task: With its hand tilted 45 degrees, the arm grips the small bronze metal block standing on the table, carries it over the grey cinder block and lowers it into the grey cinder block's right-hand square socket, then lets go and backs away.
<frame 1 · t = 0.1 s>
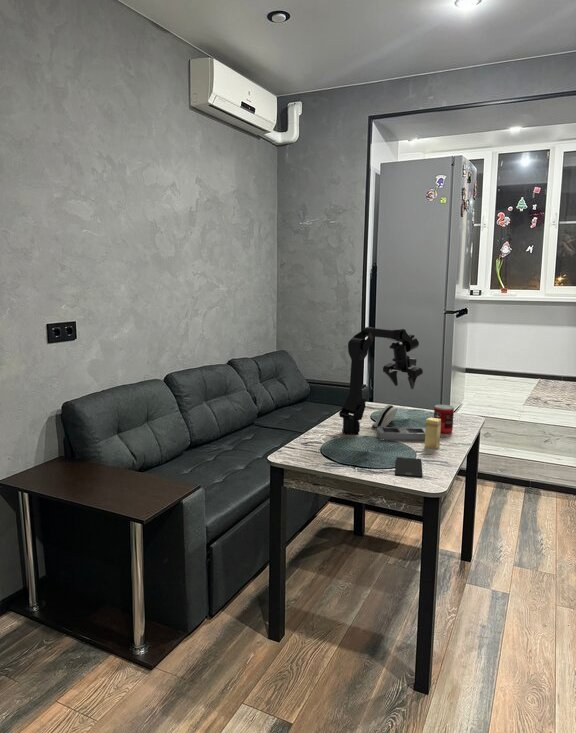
hand: (404, 387, 245), 15 cm above the table, tool pointing down, fingers open, 9 cm apart
cell phone: (408, 469, 185), on the table
canned food: (442, 431, 230), on the table
game console: (385, 425, 240), on the table
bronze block: (432, 446, 208), on the table
grey cinder block: (402, 437, 220), on the table
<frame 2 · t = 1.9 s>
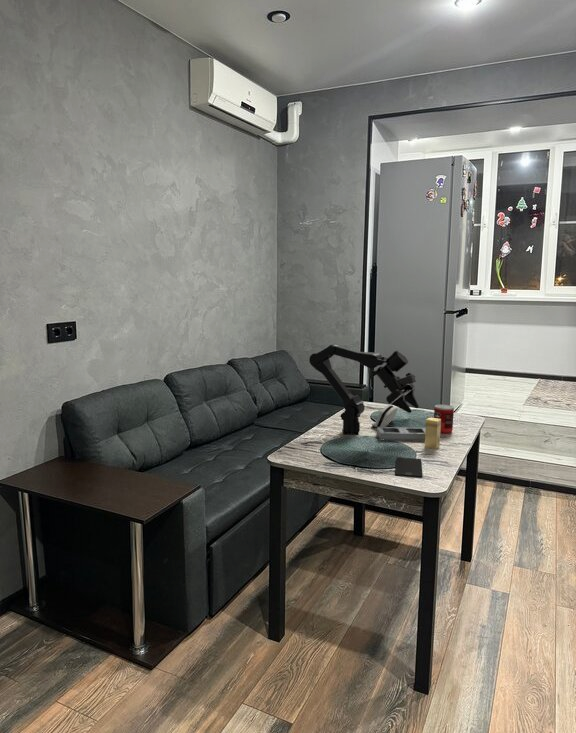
hand: (414, 409, 211), 13 cm above the table, tool tilted 45°, fingers open, 9 cm apart
nothing on the table moved.
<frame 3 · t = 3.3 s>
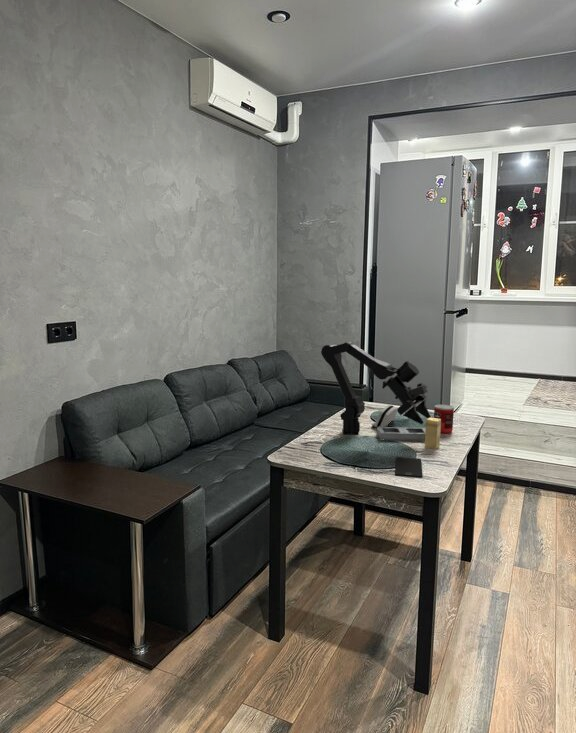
hand: (426, 420, 208), 10 cm above the table, tool tilted 45°, fingers open, 9 cm apart
nothing on the table moved.
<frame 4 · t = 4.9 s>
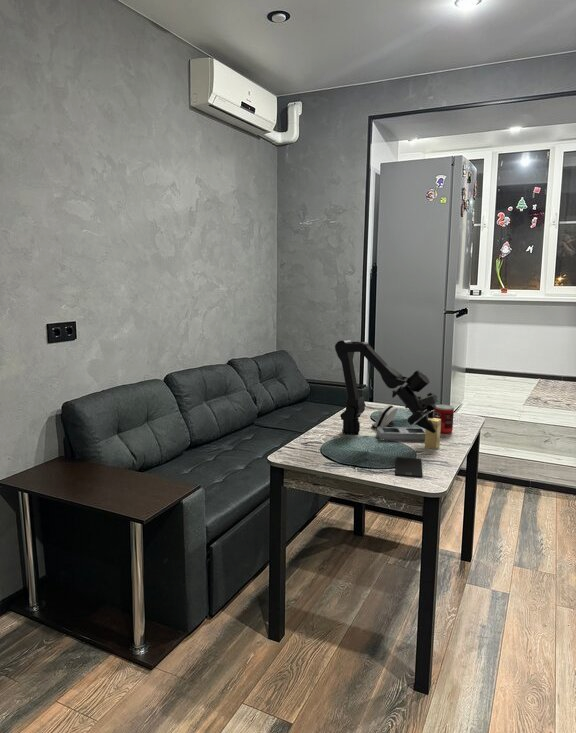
hand: (436, 430, 206), 7 cm above the table, tool tilted 45°, fingers closed on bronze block, 4 cm apart
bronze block: (432, 446, 208), on the table, touching gripper
everything else where it was.
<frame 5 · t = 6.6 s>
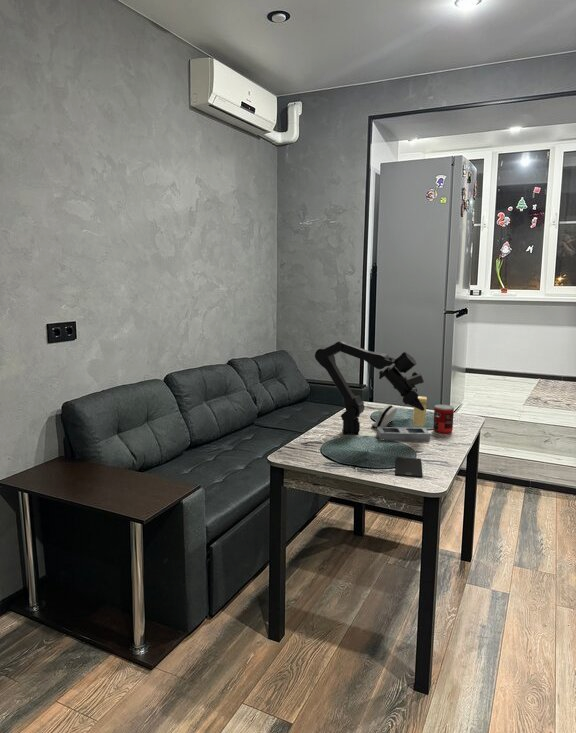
hand: (423, 408, 215), 13 cm above the table, tool tilted 45°, fingers closed on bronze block, 4 cm apart
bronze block: (418, 424, 216), point 7 cm above the table, touching gripper
everything else where it was.
when the fingers open (8 cm above the table, at t = 8.5 s): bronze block drops 1 cm, resting in grey cinder block.
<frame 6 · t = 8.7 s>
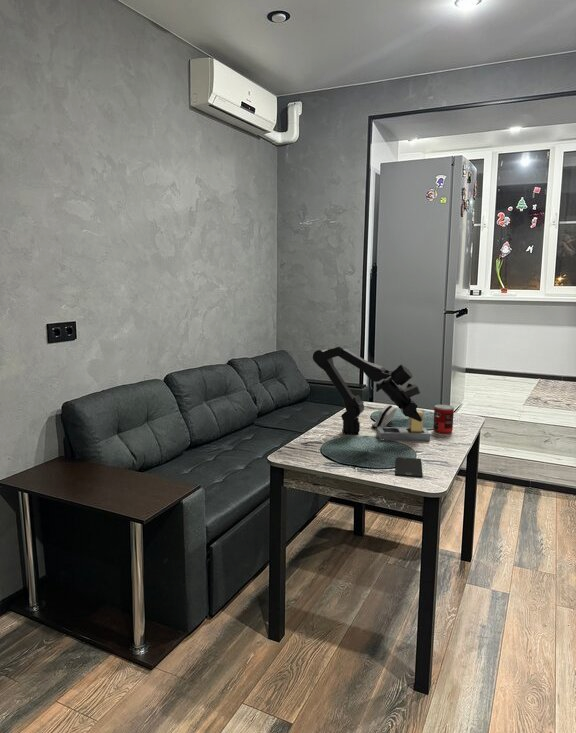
hand: (419, 418, 219), 8 cm above the table, tool tilted 45°, fingers open, 7 cm apart
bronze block: (415, 437, 220), resting in grey cinder block
everything else where it was.
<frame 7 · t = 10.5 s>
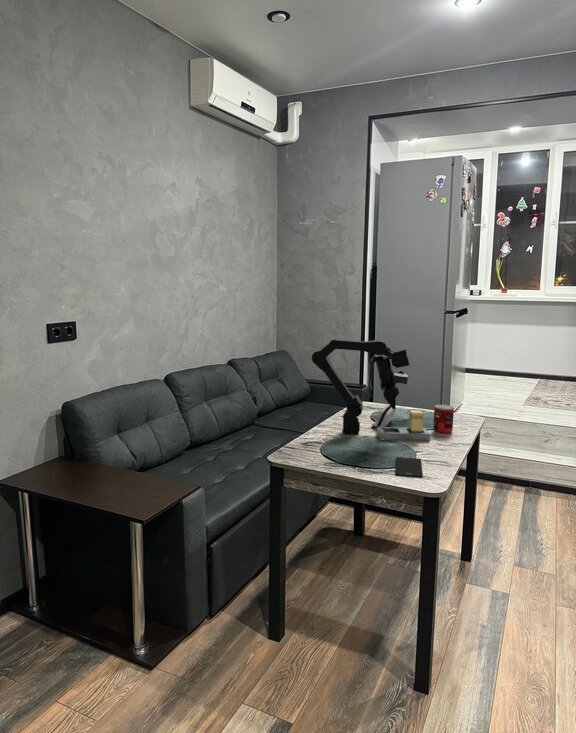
hand: (392, 405, 223), 12 cm above the table, tool tilted 15°, fingers open, 9 cm apart
nothing on the table moved.
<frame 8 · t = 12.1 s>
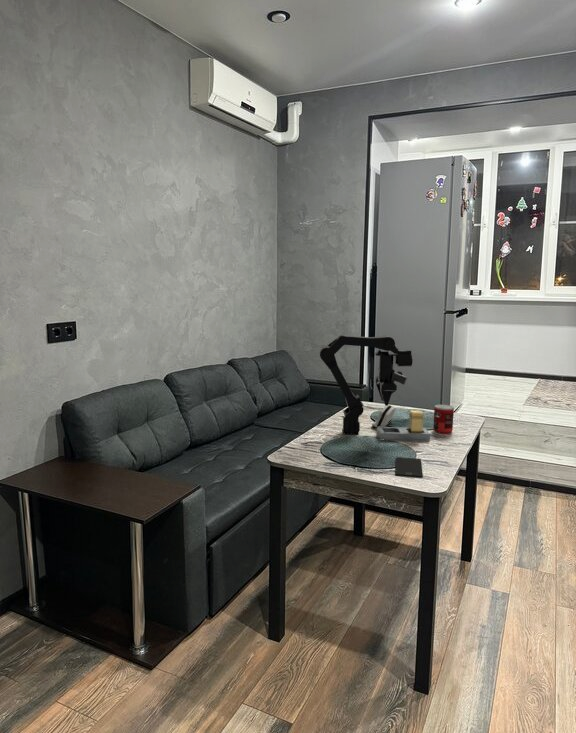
hand: (384, 403, 224), 13 cm above the table, tool pointing down, fingers open, 9 cm apart
nothing on the table moved.
at the end: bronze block 0.1 cm from the target spot on the grey cinder block, point 0.0 cm above the grey cinder block's base; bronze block tilted 0°; the gripper is holding nothing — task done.
